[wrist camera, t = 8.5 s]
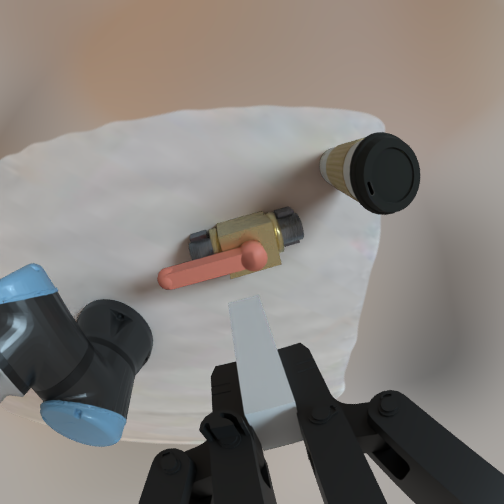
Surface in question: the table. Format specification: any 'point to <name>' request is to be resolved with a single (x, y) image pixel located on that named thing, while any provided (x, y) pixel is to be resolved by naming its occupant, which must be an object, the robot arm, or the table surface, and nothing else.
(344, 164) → the coffee cup
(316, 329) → the table surface
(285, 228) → the pipe run
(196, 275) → the lever
